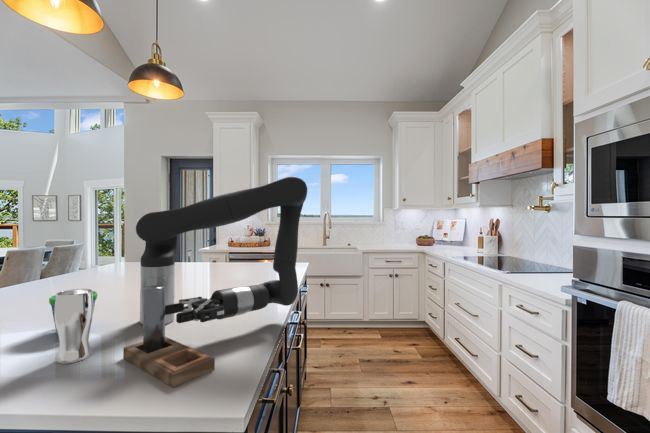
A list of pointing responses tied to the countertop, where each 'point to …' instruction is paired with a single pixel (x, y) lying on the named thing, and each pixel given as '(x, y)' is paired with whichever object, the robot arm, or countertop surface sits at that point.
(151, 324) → the metal peg
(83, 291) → the beer glass
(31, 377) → the countertop surface
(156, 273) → the robot arm
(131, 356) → the wooden peg holder
